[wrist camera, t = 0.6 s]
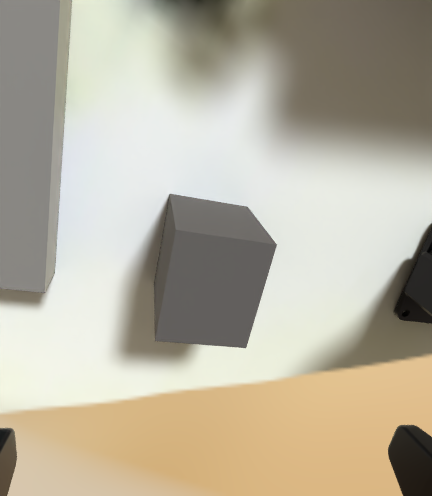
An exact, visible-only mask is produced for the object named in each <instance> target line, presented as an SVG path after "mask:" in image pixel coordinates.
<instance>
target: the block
mask: <svg viewBox="0 0 432 496" xmlns="http://www.w3.org/2000/svg"><path fill="white" fill-rule="evenodd" d="M276 246H277V244H276V243H275V242H274V240H273V239H272V238H271V237H270V235H269V234H268V233H267V231H266V230H265V229H264V228H263V226H262V225H261V224H260V222H259V221H258V220H257V219H256V217H255V216H254V215H253V213H252V212H251V211H250V209H249V208H248V207H245V206H239V205H233V204H227V203H221V202H215V201H209V200H203V199H197V198H191V197H186V196H180V195H174V194H170V196H169V201H168V207H167V213H166V219H165V224H164V230H163V236H162V242H161V247H160V253H159V259H158V264H157V270H156V276H155V282H154V303H155V341H163V342H176V343H189V344H201V345H214V346H227V347H239V348H246V347H247V343H248V340H249V336H250V333H251V330H252V326H253V323H254V320H255V316H256V313H257V310H258V306H259V303H260V299H261V296H262V293H263V289H264V286H265V283H266V279H267V276H268V273H269V269H270V266H271V262H272V259H273V256H274V252H275V249H276Z"/></svg>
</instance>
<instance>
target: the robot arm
mask: <svg viewBox="0 0 432 496" xmlns="http://www.w3.org/2000/svg"><path fill="white" fill-rule="evenodd" d="M403 311H404V312H403ZM402 312H403V313H402ZM394 313H395V315H396V316H397V317H398V318H399V319H400V320H405V321H415V322H424V323H432V228H431V231H430V233H429V235H428V237H427V239H426V242H425V244H424V246H423V248H422V250H421V253H420V255H419V257H418V259H417V261H416V264H415V266H414V268H413V270H412V272H411V275H410V277H409V279H408V281H407V283H406V286H405V288H404V290H403V292H402V294H401V297H400V299H399V301H398V303H397V305H396V308H395V310H394ZM388 455H389V459H390V462H391V465H392V467H393V470H394V473H395V475H396V478H397V481H398V483H399V486H400V488H401V491H402V494H403V496H432V437H431V436H430V435H428V434H427V433H426V432H424V431H423V430H421V429H420V428H419V427H417V426H414V425H400V426H398V427H397V429H396V431H395V433H394V436H393V438H392V441H391V443H390V445H389V448H388ZM16 460H17V452H16V441H15V432H14V430H13V429H12V428H0V496H7V494H8V491H9V487H10V483H11V480H12V477H13V473H14V469H15V466H16Z"/></svg>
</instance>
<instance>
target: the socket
mask: <svg viewBox="0 0 432 496" xmlns="http://www.w3.org/2000/svg"><path fill="white" fill-rule="evenodd" d="M71 7H72V0H0V288H1V289H11V290H21V291H31V292H41V293H45V291H46V289H47V287H48V285H49V283H50V281H51V279H52V277H53V275H54V273H55V262H56V246H57V230H58V214H59V198H60V182H61V166H62V150H63V134H64V119H65V103H66V87H67V71H68V55H69V39H70V23H71Z"/></svg>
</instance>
